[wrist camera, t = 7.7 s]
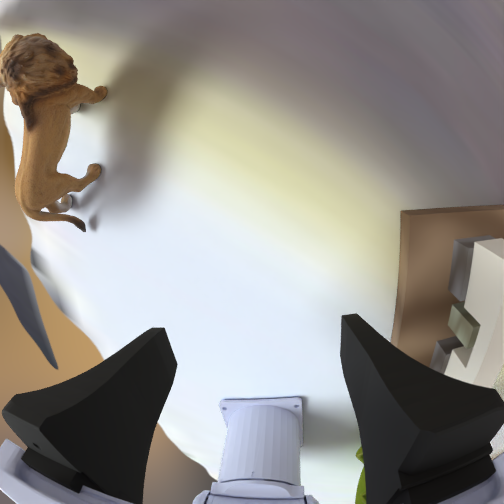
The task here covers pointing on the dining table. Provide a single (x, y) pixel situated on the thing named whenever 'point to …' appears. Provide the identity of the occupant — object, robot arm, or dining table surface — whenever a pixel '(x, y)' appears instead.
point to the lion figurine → (45, 123)
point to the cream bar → (483, 318)
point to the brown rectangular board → (439, 280)
